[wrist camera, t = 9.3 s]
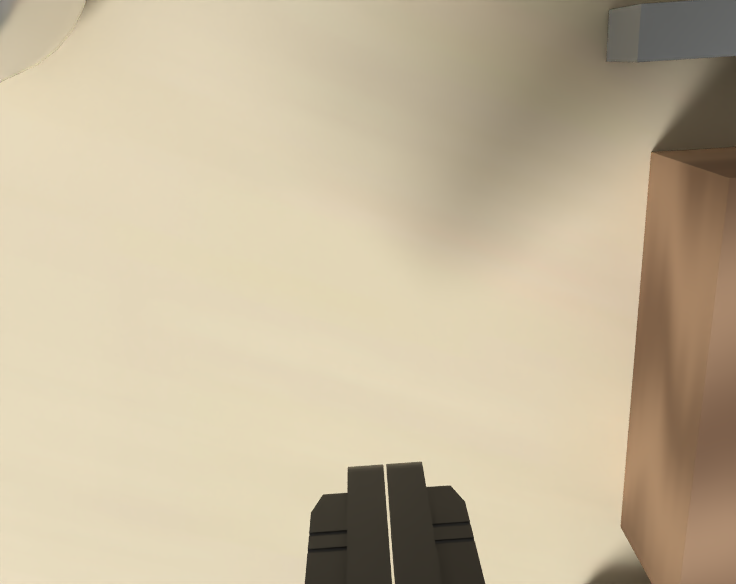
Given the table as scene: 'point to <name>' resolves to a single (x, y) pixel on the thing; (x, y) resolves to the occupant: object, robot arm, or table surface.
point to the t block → (685, 374)
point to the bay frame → (672, 31)
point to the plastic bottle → (33, 31)
